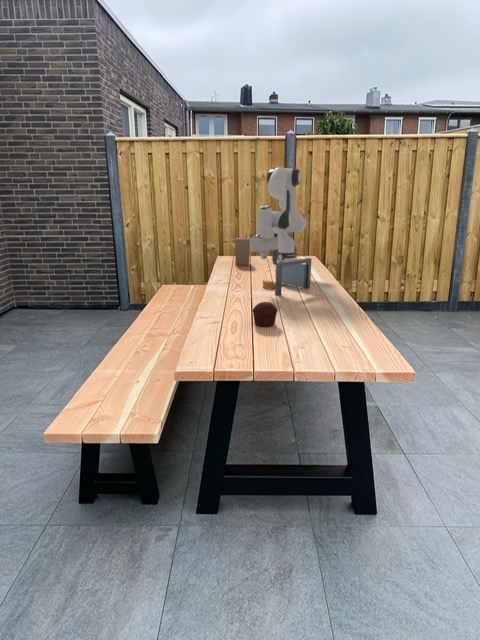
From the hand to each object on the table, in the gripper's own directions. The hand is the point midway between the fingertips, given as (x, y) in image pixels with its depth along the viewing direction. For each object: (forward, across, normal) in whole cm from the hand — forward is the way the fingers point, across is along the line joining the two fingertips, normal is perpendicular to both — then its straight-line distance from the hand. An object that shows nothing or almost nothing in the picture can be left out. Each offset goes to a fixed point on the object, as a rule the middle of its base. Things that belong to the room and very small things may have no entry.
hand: (263, 258), depth 265 cm
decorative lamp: (+17, +73, +51) cm, 91 cm away
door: (+17, +19, -5) cm, 27 cm away
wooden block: (+17, +43, +66) cm, 81 cm away
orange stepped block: (+18, +9, +1) cm, 20 cm away
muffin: (+20, -47, -49) cm, 71 cm away
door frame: (+18, +9, -15) cm, 26 cm away
